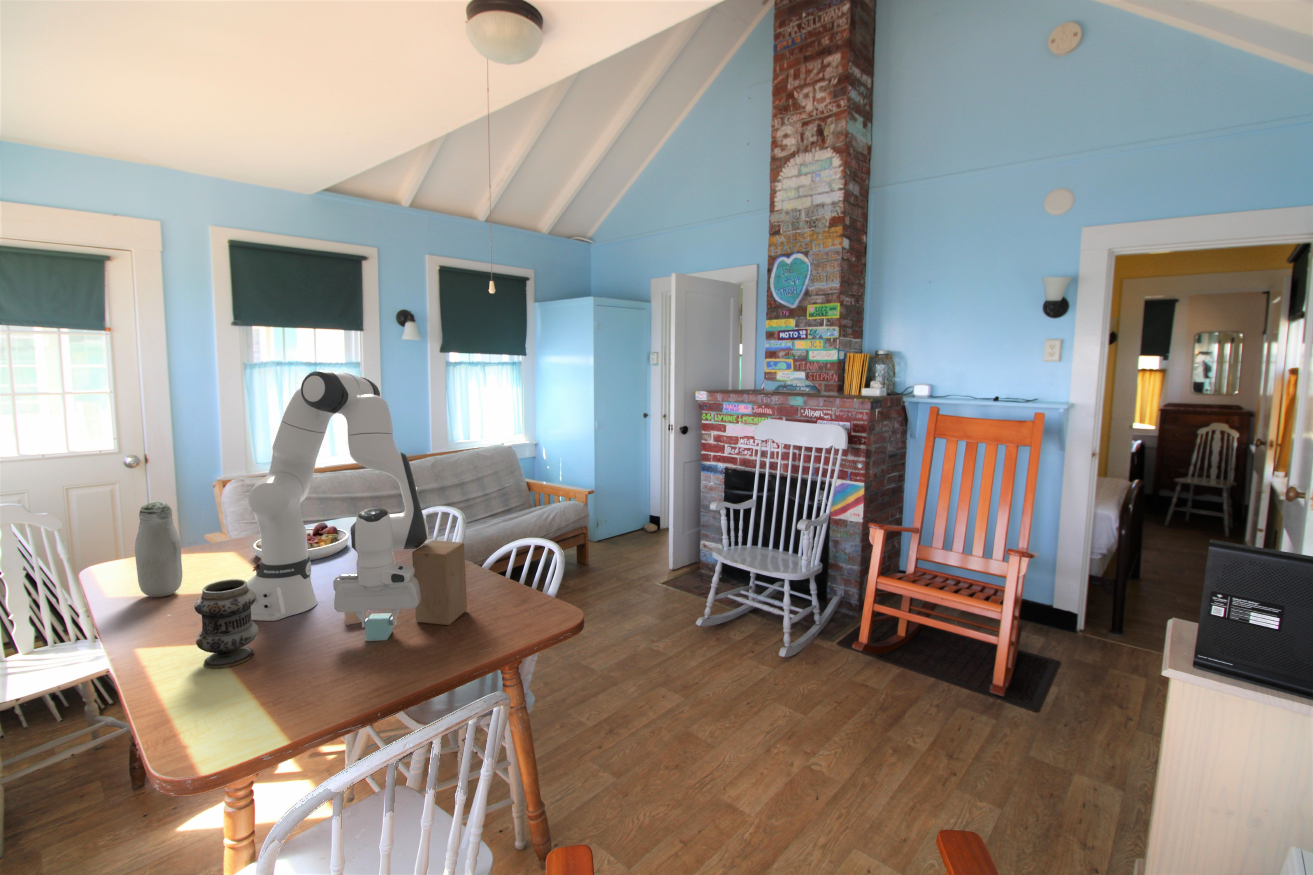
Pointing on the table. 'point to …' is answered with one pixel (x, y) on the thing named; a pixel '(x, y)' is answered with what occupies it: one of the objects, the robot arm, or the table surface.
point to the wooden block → (440, 581)
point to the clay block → (352, 618)
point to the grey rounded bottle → (158, 551)
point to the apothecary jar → (226, 622)
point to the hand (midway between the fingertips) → (379, 625)
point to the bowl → (319, 541)
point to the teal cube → (378, 627)
